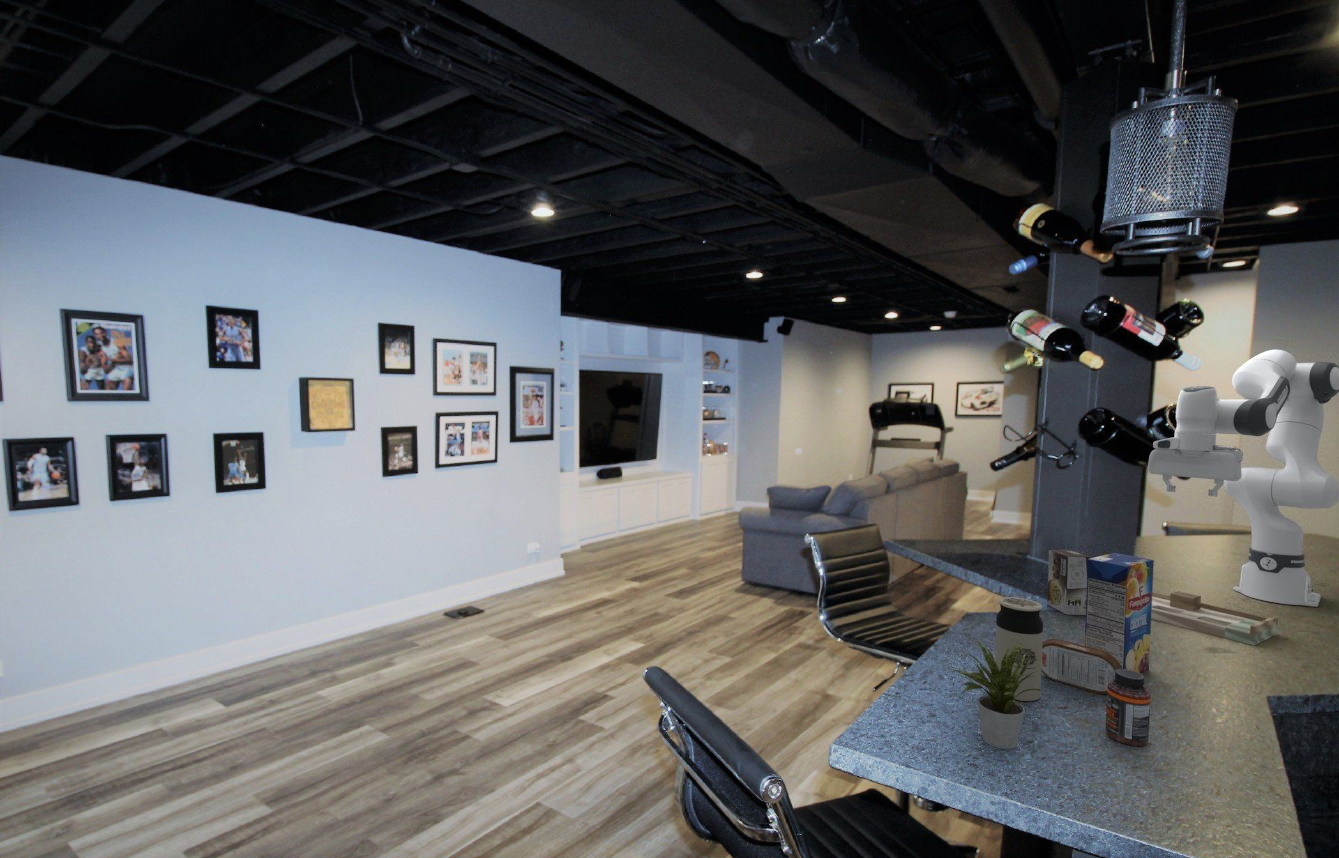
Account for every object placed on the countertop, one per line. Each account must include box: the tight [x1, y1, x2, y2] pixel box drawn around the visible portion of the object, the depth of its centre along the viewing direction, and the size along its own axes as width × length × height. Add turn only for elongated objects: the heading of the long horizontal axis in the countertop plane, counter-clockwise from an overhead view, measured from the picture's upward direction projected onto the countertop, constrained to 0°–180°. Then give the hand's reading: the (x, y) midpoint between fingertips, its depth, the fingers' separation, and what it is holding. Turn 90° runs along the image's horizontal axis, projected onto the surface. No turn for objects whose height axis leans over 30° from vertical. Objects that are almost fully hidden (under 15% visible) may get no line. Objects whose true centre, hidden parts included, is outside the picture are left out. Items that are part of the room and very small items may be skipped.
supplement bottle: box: [1105, 669, 1151, 747], centre depth 106 cm, size 6×6×11 cm
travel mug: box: [994, 596, 1044, 702], centre depth 122 cm, size 8×8×18 cm
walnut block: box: [1170, 590, 1202, 611], centre depth 170 cm, size 5×5×4 cm
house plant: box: [952, 638, 1046, 750], centre depth 106 cm, size 14×14×16 cm
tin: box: [1041, 638, 1122, 695], centre depth 126 cm, size 15×3×8 cm, turn 44°
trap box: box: [1151, 591, 1279, 646], centre depth 166 cm, size 15×29×4 cm, turn 30°
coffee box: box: [1047, 549, 1092, 616], centre depth 174 cm, size 9×6×16 cm
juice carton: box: [1084, 552, 1155, 675], centre depth 134 cm, size 12×8×24 cm, turn 122°
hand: (1191, 493), depth 173 cm, fingers open, 8 cm apart
